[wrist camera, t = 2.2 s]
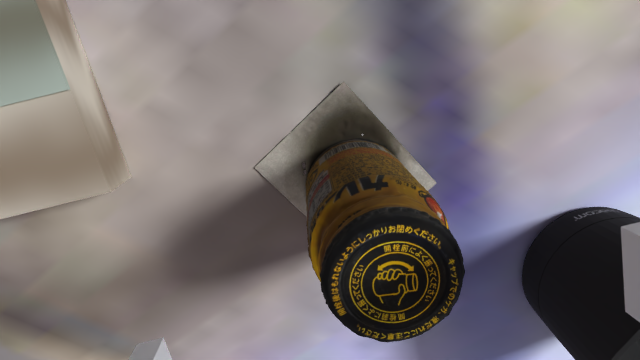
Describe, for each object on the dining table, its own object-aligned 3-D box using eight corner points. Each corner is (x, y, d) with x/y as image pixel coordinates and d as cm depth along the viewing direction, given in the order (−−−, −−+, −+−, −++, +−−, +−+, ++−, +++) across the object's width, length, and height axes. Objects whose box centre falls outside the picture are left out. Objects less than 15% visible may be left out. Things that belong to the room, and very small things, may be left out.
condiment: (349, 257, 28) (385, 396, 17) (254, 166, 26) (221, 252, 15) (435, 181, 27) (537, 274, 16) (343, 80, 25) (382, 102, 14)
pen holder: (679, 235, 29) (868, 323, 19) (595, 345, 31) (728, 474, 22) (566, 174, 27) (711, 238, 18) (486, 295, 30) (577, 410, 20)
